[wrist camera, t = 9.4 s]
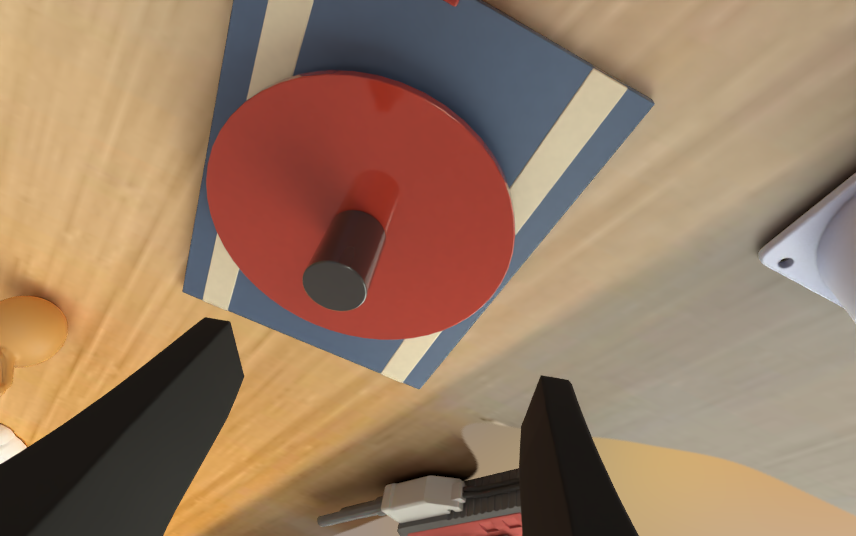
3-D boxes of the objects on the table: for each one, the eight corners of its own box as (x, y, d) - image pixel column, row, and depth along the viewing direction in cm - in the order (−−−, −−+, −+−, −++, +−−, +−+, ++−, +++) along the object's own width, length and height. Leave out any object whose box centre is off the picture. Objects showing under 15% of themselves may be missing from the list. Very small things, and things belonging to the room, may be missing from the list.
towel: (652, 99, 16) (655, 104, 16) (420, 384, 28) (419, 390, 28) (261, -130, 14) (254, -130, 14) (185, 287, 26) (181, 292, 25)
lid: (581, 168, 18) (597, 239, 14) (432, 357, 26) (419, 431, 22) (251, -9, 16) (176, 25, 12) (199, 257, 24) (145, 323, 20)
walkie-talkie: (528, 441, 30) (315, 498, 40) (530, 513, 27) (296, 556, 36) (592, 504, 34) (384, 542, 44) (601, 574, 31) (373, 598, 40)
